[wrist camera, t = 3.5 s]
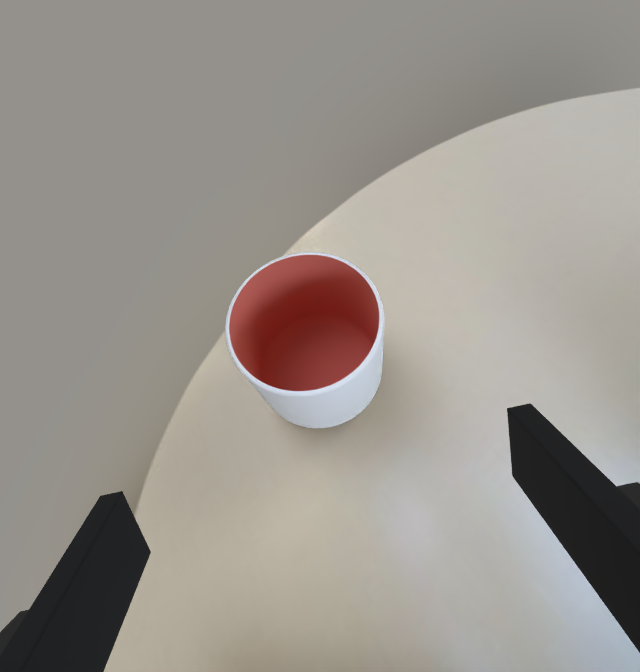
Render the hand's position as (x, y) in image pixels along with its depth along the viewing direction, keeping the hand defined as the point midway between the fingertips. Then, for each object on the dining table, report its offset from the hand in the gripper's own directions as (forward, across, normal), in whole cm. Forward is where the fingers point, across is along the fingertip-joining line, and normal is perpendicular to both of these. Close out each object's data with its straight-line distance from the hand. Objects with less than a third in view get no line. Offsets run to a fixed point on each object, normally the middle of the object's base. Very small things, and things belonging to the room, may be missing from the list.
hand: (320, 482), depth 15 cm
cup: (+21, 0, -6) cm, 22 cm away
